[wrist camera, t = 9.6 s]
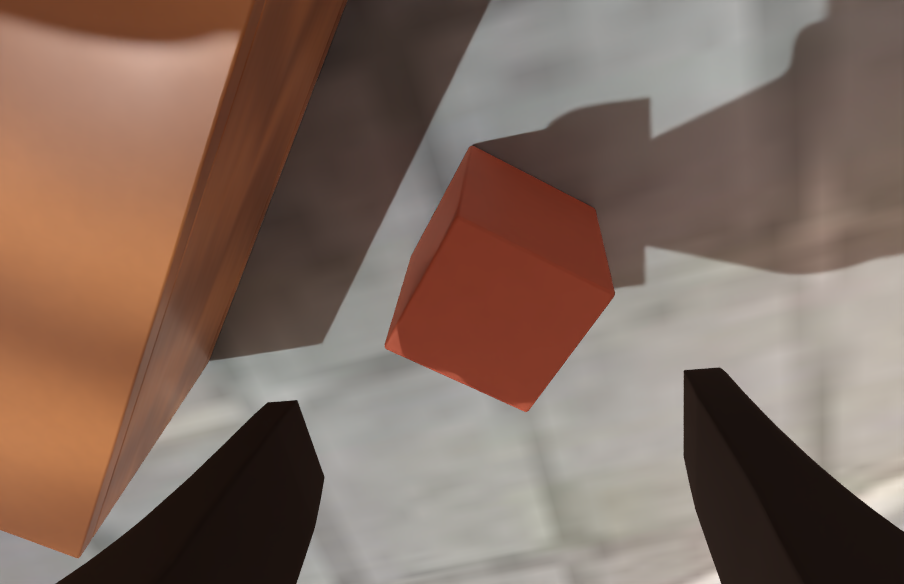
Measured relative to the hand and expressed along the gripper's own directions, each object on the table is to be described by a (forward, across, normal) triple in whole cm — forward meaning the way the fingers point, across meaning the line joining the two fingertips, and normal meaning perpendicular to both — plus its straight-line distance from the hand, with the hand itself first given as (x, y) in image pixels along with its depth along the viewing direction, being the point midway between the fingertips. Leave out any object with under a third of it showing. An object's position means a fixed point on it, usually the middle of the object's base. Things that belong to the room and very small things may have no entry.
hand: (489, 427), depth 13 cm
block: (+8, 0, 0) cm, 8 cm away
